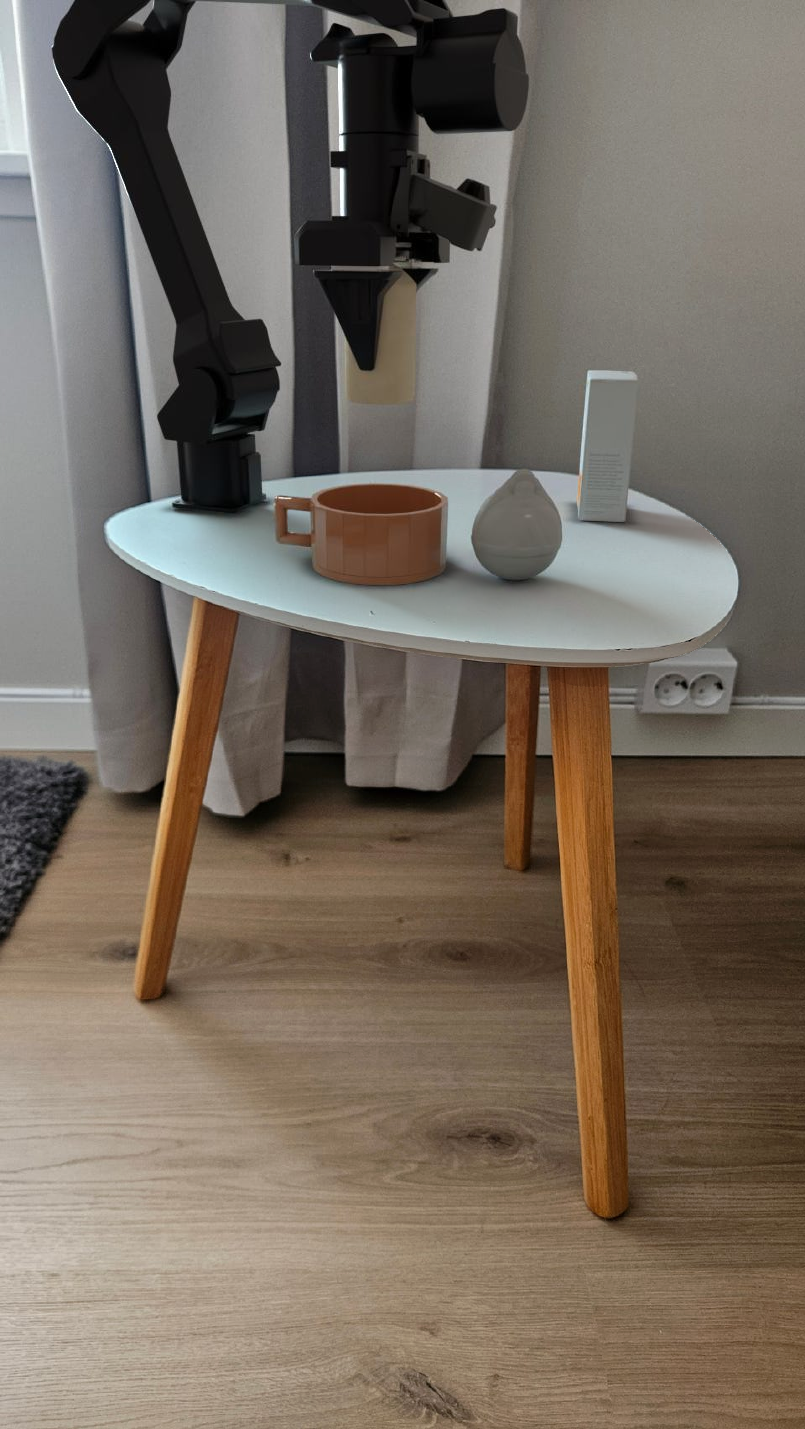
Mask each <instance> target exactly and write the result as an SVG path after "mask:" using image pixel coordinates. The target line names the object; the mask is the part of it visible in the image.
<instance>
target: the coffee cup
mask: <svg viewBox="0 0 805 1429" xmlns="http://www.w3.org/2000/svg"><path fill="white" fill-rule="evenodd" d="M288 510H290V511H298V512H308V513H310V533H306V532H305V533H303V532H296V531H289V515H288V514H289V513H288ZM273 512H274V513H273V514H274V537H275V538H274V539H275V541H276V542H277V544H280V545H284V546H285V545H286V546H287V545H288V546H293V547H302V548H303V547H304V548H310V550H311V554H310V555H311V562H312V563H311V564H312V568H313V570H314V571H315V572H316V573H318V574H319V575H321V576H323V577H324V578H327V579H330V580H333V581H337V582H342V583H347V584H354V585H362V586H363V585H364V586H365V585H366V586H396V585H407V584H414V583H418V582H423V581H427V580H430V579H432V578H436V577H437V576H439V575H441V574H442V573H443V572H444V571H445V570H446V566H447V551H448V549H447V548H448V523H449V522H448V519H449V518H448V516H449V498H448V496H446V495H445V494H444V493H442V492H440V491H437V490H434V489H431V488H428V487H423V486H417V485H410V484H401V483H381V482H379V483H377V482H373V483H371V482H369V483H352V484H343V485H338V486H333V487H329V488H324V489H321V490H319V491H317V492H315V493H313V494H312V495H311V497H302V496H294V495H293V496H292V495H283V494H282V495H281V494H280V495H279V494H278V495H277V496H275V497H274V499H273Z"/></svg>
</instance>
